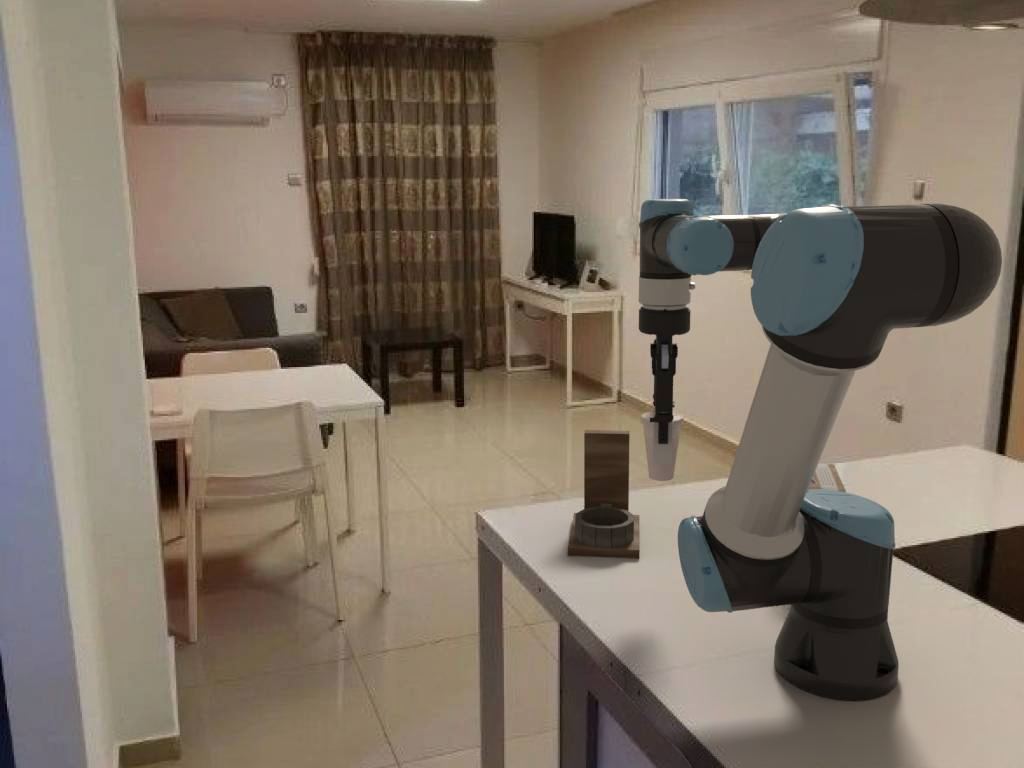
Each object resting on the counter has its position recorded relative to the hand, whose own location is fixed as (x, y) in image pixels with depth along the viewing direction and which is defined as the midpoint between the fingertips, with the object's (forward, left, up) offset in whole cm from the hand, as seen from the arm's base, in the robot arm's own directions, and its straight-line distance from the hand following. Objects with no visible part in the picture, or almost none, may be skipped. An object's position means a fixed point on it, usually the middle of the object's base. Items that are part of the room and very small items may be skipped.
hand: (661, 455), depth 141 cm
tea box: (+11, -24, -21) cm, 34 cm away
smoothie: (0, 0, -4) cm, 4 cm away
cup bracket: (+17, +9, -21) cm, 28 cm away
